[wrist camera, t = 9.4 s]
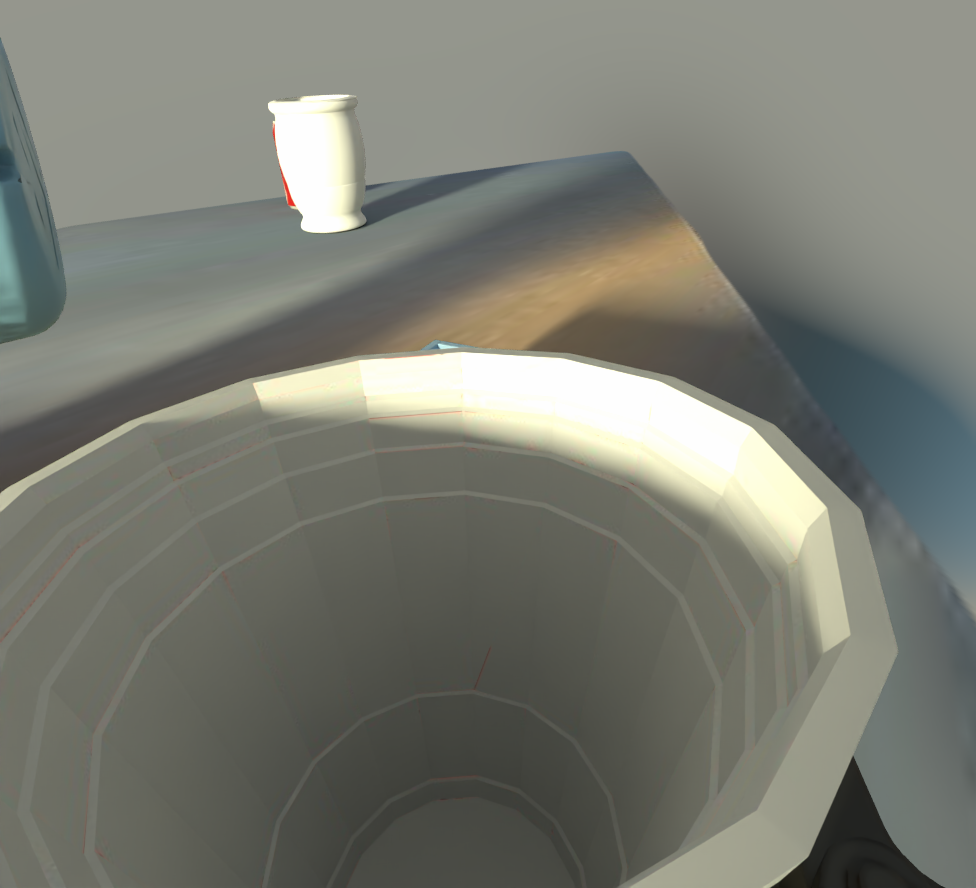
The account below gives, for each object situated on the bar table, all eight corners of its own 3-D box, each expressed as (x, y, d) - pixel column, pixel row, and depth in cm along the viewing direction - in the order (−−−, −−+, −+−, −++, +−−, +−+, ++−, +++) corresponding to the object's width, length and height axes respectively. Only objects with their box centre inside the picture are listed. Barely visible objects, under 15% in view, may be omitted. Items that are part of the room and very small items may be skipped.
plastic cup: (592, 661, 20) (616, 278, 13) (838, 1175, 11) (1299, 770, 4) (223, 754, 18) (36, 355, 11) (147, 1481, 9) (-1038, 1622, 2)
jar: (367, 213, 90) (349, 92, 82) (381, 229, 81) (363, 96, 73) (290, 223, 87) (264, 98, 79) (297, 240, 79) (269, 104, 71)
